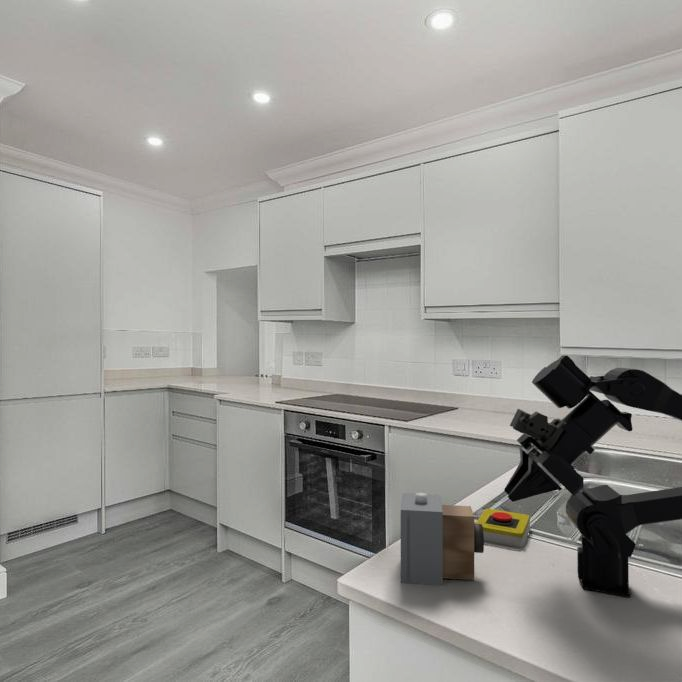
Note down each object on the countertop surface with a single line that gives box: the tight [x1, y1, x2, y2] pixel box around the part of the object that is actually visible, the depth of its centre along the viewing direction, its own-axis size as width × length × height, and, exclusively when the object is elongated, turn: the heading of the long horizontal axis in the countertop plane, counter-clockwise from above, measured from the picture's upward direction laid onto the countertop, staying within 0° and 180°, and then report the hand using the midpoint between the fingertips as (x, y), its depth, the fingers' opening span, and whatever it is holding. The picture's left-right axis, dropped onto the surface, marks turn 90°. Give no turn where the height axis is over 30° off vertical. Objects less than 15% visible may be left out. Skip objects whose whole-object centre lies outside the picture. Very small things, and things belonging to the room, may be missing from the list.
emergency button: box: [474, 508, 531, 552], centre depth 96 cm, size 9×4×15 cm
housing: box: [400, 492, 444, 586], centre depth 80 cm, size 6×9×13 cm
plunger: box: [441, 504, 485, 581], centre depth 78 cm, size 6×5×10 cm
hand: (508, 495), depth 77 cm, fingers open, 3 cm apart
